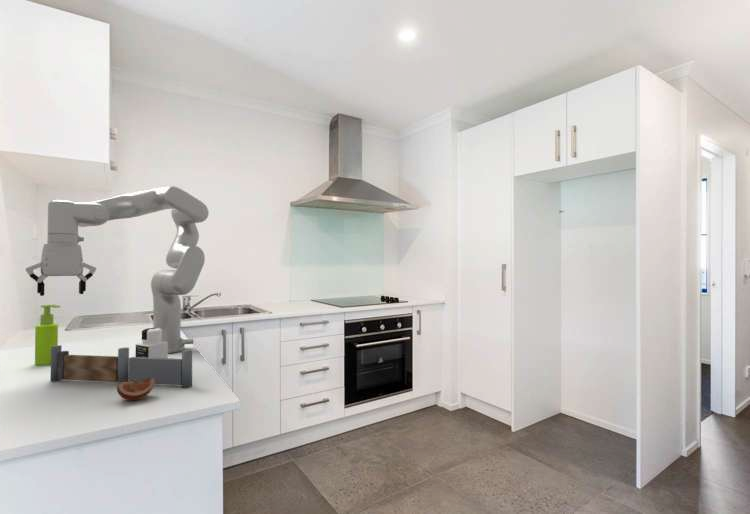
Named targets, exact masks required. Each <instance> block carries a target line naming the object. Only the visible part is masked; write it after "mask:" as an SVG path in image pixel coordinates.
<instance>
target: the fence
mask: <svg viewBox="0 0 750 514" xmlns="http://www.w3.org/2000/svg"><path fill="white" fill-rule="evenodd" d="M62 346H63V345H61V344H58V345H57V346H51V364H50V381H49V382H51V383H53V382H60V381H61V380H58V352H61V351H62ZM117 351H118V352H117V356H118V382H117V383H120V382H128V381H137V382H139V381H141V380H143V379H148V378H155V385H164V386H166V385H167V386H181V388H182V389H189V388H192V387H193V349H184V350H182V351H181V358H171V357H169V358H147V357H136V356H132V357H130V347H120V348H118V349H117Z"/></svg>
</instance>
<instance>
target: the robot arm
mask: <svg viewBox="0 0 750 514" xmlns="http://www.w3.org/2000/svg"><path fill="white" fill-rule="evenodd" d="M165 210H171V211H170V214H171V219H172V221H173V222H174V224H175V227H176V234H175V237H174V239H173V242H172V243H171V246H170V247H169V250H168V252H167V254H166V258H165V262H166V265H167V266H168V267H170V268H172V269H163V270H160V271H158V272H156V273H154V275H153V276H152V278H151V281H150V289H151V294H152V301H153V302H152V303H153V305H152V306H153V308H152V311H153V312H152V313H153V315H152V322H153V323H152V328H160V329H162V340H161V341H164V342H168V354H173V353H178V352H179V353H180V352H182V351H183V350H186V349H185V348H186V347H185V345H193V344H194V338H186V339H184V338H183V337H181V328H182V327H181V324H182V323H181V321H182V320H181V313H182V312H181V311H182V302H181V299H180V296H184V295H185V296H186V295H187V294H189V293H191V292H192V291H193V289H194V288H195V286H196V284H197V282H198V280H199V277H200V274H201V271H202V270H203V268H204V265H205V260H206V258H205V256H206V255H205V253H204V251H203V249H202V248H201V247H199V246H197V244H198V242H199V239H200V234H199V229H198V227H197V225H196V224H199V223H203V222H205V221H206V220H207V219H208V218H209V209H208V207H207V205H206V204H205V203H204V202H203V201H201V200H199V199H198V198H196V197H194V196H193V195H191V194H190V193H188V192H187V191H185V190H184V189H181V188H179V187H177V186H174V185H169V186H168V185H167V186H164V187H156V188H150V189H146V190H142V191H136V192H130V193H125V194H121V195H117V196H114V197H109V198H106V199H101V200H96V201H92V202H91V201H90V202H76V201H75V202H74V201H71V200H64V199H62V200H61V199H54V200H53V199H52V200H50V201H49V202H48V204H47V235H46V236H47V238H46V239H47V243H44V244H43V246H42V250H41V251H42V252H41V257H40V259H41V260H40V262H38V263H36V264H33V265H30V266H29V267H26V268H25V271H26V273H27V274H28V276H29V277H30V278H31V279H33V280H34V281H35V282H36V283H37V286H36V287H37V289H36V291H37V294H39V296H41V297H43V296H45V282H44V281H45V280H46V278H47V277H77V278H78V279H79V282H78V294H80V295H84V293H85V292H86V289H87V288H86V287H87V281H88V280H90V279H91V278H92V277H93V275H94V274H95V273H96V271H97V267H95V266H92V265H91V264H88V263H86V262H84V261H83V260H84V259H83V257H84V256H83V250H82V245H81V244H79V243H81V242H84V241H85V238H84V237H83V236H82V237H81V236H80V235H79V228H86V227H87V228H88V227H98V226H99V227H100V226H101V225H105V224H107V222H108V221H114V220H122V219H132V218H137V217H141V216H144V215H149V214H153V213H157V212H160V211H165ZM39 268H40V276H37V274H35V272H34V271H35V270H37V269H39ZM84 268H85V269H87V270H89V271H88V273H86V274H85V275H84V274H83V273H84Z"/></svg>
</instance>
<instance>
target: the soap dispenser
mask: <svg viewBox="0 0 750 514" xmlns="http://www.w3.org/2000/svg"><path fill="white" fill-rule="evenodd" d="M40 308H43V314H41V315H40V321H39V323H40V324H37V325H35V327H34V328H35V332H34V333H35V335H34V336H35V337H34V340H35V341H34V366H36V367H37V366H39V367H40V366H51V346H57V345H59V343H58V342H59V341H58V340H59V335H58V334H59V324H58V323H54V314H53V313H51V308H54V309H57V308H61V305H59V304H45V305H40Z"/></svg>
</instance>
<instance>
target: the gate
mask: <svg viewBox="0 0 750 514" xmlns="http://www.w3.org/2000/svg"><path fill="white" fill-rule="evenodd" d="M69 353H70V351H69V350H61V352H58V380H60V381H78V382H79V381H80V382H81V381H82V382H83V381H84V382H85V381H86V382H101V383H102V382H104V383H106V382H107V383H118V355H117V356H113V355H89V354H85V355H84V354H69Z"/></svg>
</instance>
